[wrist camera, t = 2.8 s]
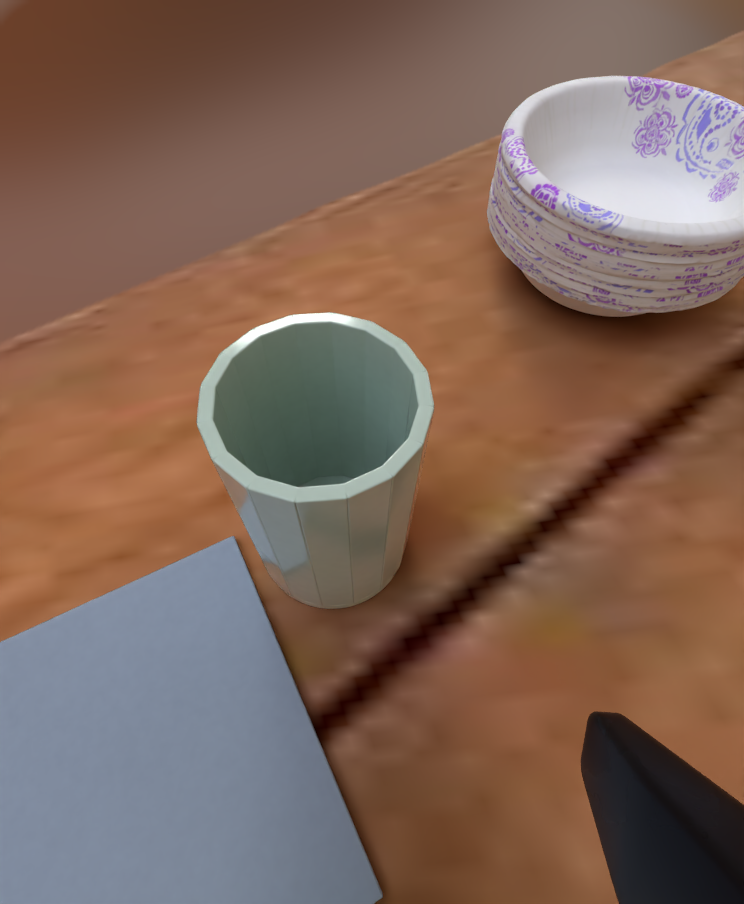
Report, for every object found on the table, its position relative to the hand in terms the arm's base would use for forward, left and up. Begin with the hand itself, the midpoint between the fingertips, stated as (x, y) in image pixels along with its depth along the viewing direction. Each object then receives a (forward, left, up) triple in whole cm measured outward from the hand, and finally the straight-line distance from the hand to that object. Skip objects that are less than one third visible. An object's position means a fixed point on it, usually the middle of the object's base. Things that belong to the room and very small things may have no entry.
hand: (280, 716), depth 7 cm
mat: (-8, +2, -13) cm, 16 cm away
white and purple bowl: (+27, +16, -14) cm, 34 cm away
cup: (+4, +7, -13) cm, 16 cm away
